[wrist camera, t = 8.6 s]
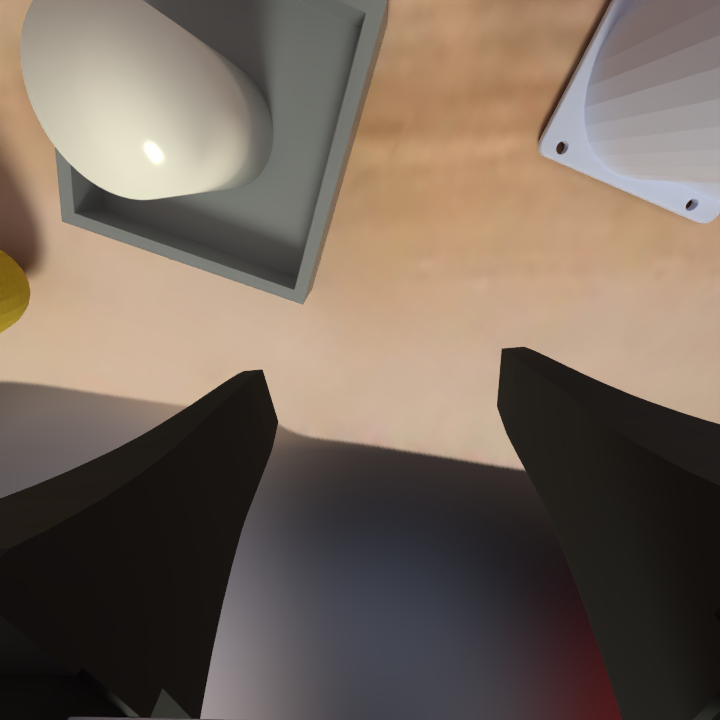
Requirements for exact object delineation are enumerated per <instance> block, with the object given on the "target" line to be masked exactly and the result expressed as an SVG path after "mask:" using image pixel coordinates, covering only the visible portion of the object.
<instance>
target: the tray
mask: <svg viewBox="0 0 720 720" xmlns="http://www.w3.org/2000/svg"><path fill="white" fill-rule="evenodd" d="M143 1H145V2H146V3H148V4H149V5H151V6H152V7H153V8H155V9H156V10H158V11H159V12H161V13H162V14H163V15H165V16H166V17H168V18H169V19H171V20H172V21H174V22H175V23H176V24H178V25H179V26H181V27H182V28H184V29H185V30H186V31H188V32H189V33H191V34H192V35H194V36H195V37H197V38H198V39H199V40H201V41H202V42H204V43H205V44H207V45H208V46H209V47H211V48H212V49H214V50H215V51H217V52H218V53H219V54H221V55H222V56H224V57H225V58H227V59H228V60H230V61H231V62H232V63H234V64H235V65H237V66H238V67H240V68H241V69H242V70H243V71H244V72H246V73H247V74H248V75H249V76H250V77H251V79H252V80H253V81H254V82H255V83H256V85H257V86H258V88H259V89H260V91H261V93H262V94H263V96H264V98H265V100H266V102H267V105H268V108H269V111H270V115H271V119H272V125H273V147H272V151H271V155H270V158H269V161H268V163H267V165H266V167H265V169H264V170H263V172H262V173H261V174H260V175H259V176H258V177H257V178H256V179H255V180H254V181H252V182H251V183H249V184H247V185H245V186H242V187H238V188H232V189H224V190H217V191H210V192H203V193H195V194H188V195H181V196H173V197H166V198H159V199H151V200H136V199H129V198H125V197H121V196H118V195H116V194H113V193H110V192H108V191H106V190H104V189H102V188H100V187H99V186H97V185H96V184H94V183H92V182H91V181H89V180H88V179H87V178H85V177H84V176H83V175H82V174H80V173H79V172H78V171H77V170H76V169H75V168H74V167H73V166H72V165H71V164H70V163H69V162H68V161H67V160H66V159H65V158H64V157H63V156H62V155H61V153H60V152H59V151H58V150H57V148H56V147H55V152H56V162H57V173H58V183H59V194H60V204H61V215H62V222H65V223H68V224H71V225H74V226H77V227H80V228H83V229H85V230H88V231H91V232H94V233H97V234H100V235H103V236H106V237H109V238H112V239H114V240H117V241H120V242H123V243H126V244H129V245H132V246H135V247H138V248H141V249H143V250H146V251H149V252H152V253H155V254H158V255H161V256H164V257H167V258H169V259H172V260H175V261H178V262H181V263H184V264H187V265H190V266H193V267H196V268H198V269H201V270H204V271H207V272H210V273H213V274H216V275H219V276H222V277H225V278H227V279H230V280H233V281H236V282H239V283H242V284H245V285H248V286H251V287H254V288H256V289H259V290H262V291H265V292H268V293H271V294H274V295H277V296H280V297H283V298H285V299H288V300H291V301H294V302H297V303H300V304H304V302H305V300H306V298H307V297H308V295H309V293H310V292H311V290H312V287H313V283H314V280H315V276H316V273H317V269H318V266H319V262H320V259H321V255H322V252H323V248H324V245H325V241H326V237H327V234H328V230H329V227H330V223H331V220H332V216H333V213H334V209H335V206H336V202H337V199H338V195H339V192H340V188H341V185H342V181H343V178H344V174H345V171H346V167H347V164H348V160H349V156H350V153H351V149H352V146H353V142H354V139H355V135H356V132H357V128H358V125H359V121H360V118H361V114H362V111H363V107H364V104H365V100H366V97H367V93H368V90H369V86H370V83H371V79H372V76H373V72H374V68H375V65H376V61H377V58H378V54H379V51H380V47H381V44H382V40H383V37H384V33H385V30H386V26H387V8H388V0H143Z"/></svg>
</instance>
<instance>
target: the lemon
mask: <svg viewBox="0 0 720 720" xmlns="http://www.w3.org/2000/svg"><path fill="white" fill-rule="evenodd" d="M29 298H30V288H29V282H28V280H27V277H26V275H25V273H24V272H23V270H22V269H21V267H20V266H19V265H18V264H17V263H16V262H15V261H14V259H12V258H11V257H10V256H9V255H7V254H6V253H5V252H3V251H2V250H0V333H1V332H3V331H4V330H6V329H7V328H8V327H10V326H11V325H13V324H14V323H15V322H16V321H18V320H19V319H20V317H21V316H22V315H23V313H24V312H25V310H26V308H27V306H28V304H29Z"/></svg>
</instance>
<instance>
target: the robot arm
mask: <svg viewBox="0 0 720 720" xmlns="http://www.w3.org/2000/svg"><path fill="white" fill-rule="evenodd" d="M559 142H563V143H564V146H565V147H564V150H563V152H562V153H561V154H558V153H557V152H556V147H557V145H558V144H559ZM538 151H539V153H540V154H541V155H542V156H544V157H546V158H549V159H551V160H553V161H555V162H558V163H560V164H562V165H565V166H567V167H569V168H572V169H574V170H576V171H579V172H581V173H583V174H586V175H588V176H590V177H592V178H595V179H597V180H599V181H602V182H604V183H606V184H609V185H611V186H613V187H616V188H618V189H620V190H623V191H625V192H627V193H629V194H632V195H634V196H636V197H639V198H641V199H643V200H646V201H648V202H650V203H653V204H655V205H657V206H660V207H662V208H664V209H667V210H669V211H671V212H673V213H676V214H678V215H680V216H683V217H685V218H687V219H690V220H692V221H694V222H698V223H708V222H710V221H712V220H714V219H715V218H716V217H717V216H718V215H719V214H720V0H612V1H611V3H610V5H609V6H608V8H607V10H606V12H605V14H604V16H603V18H602V20H601V22H600V24H599V26H598V28H597V30H596V32H595V33H594V35H593V37H592V39H591V41H590V43H589V45H588V47H587V49H586V51H585V53H584V55H583V57H582V59H581V61H580V62H579V64H578V66H577V68H576V70H575V72H574V74H573V76H572V78H571V80H570V82H569V84H568V86H567V88H566V89H565V91H564V93H563V95H562V97H561V99H560V101H559V103H558V105H557V107H556V109H555V111H554V113H553V115H552V117H551V118H550V120H549V122H548V124H547V126H546V128H545V130H544V132H543V134H542V136H541V138H540V140H539V143H538ZM690 200H692V204H691V206H690V207H689V208H687V209H686V204H687V203H688V202H689V201H690ZM497 407H498V410H499V413H500V416H501V419H502V422H503V425H504V428H505V430H506V433H507V435H508V437H509V439H510V441H511V443H512V445H513V447H514V449H515V451H516V453H517V455H518V457H519V459H520V460H521V462H522V464H523V466H524V468H525V470H526V472H527V474H528V475H529V477H530V479H531V481H532V483H533V485H534V487H535V489H536V491H537V492H538V494H539V496H540V498H541V500H542V502H543V504H544V506H545V508H546V510H547V512H548V514H549V517H550V519H551V521H552V524H553V526H554V528H555V531H556V533H557V536H558V538H559V541H560V543H561V546H562V548H563V551H564V553H565V556H566V558H567V561H568V564H569V566H570V569H571V572H572V574H573V577H574V580H575V582H576V585H577V587H578V590H579V593H580V595H581V598H582V601H583V604H584V607H585V609H586V612H587V615H588V618H589V621H590V624H591V626H592V629H593V632H594V635H595V637H596V640H597V643H598V646H599V649H600V652H601V655H602V658H603V661H604V664H605V667H606V670H607V673H608V676H609V679H610V682H611V685H612V688H613V691H614V695H615V697H616V701H617V704H618V707H619V710H620V713H621V715H622V719H623V720H720V424H717V423H713V422H710V421H706V420H703V419H700V418H697V417H693V416H690V415H687V414H684V413H681V412H678V411H675V410H672V409H669V408H666V407H663V406H661V405H658V404H655V403H652V402H649V401H646V400H644V399H641V398H638V397H636V396H633V395H631V394H628V393H626V392H623V391H621V390H619V389H616V388H614V387H611V386H609V385H607V384H604V383H602V382H600V381H597V380H595V379H593V378H591V377H589V376H586V375H584V374H582V373H580V372H578V371H576V370H574V369H572V368H569V367H567V366H565V365H563V364H561V363H559V362H557V361H555V360H553V359H551V358H549V357H547V356H545V355H542V354H540V353H538V352H536V351H534V350H531V349H529V348H526V347H516V348H505V349H502V354H501V365H500V377H499V389H498V401H497ZM277 425H278V419H277V416H276V413H275V409H274V406H273V403H272V400H271V396H270V393H269V390H268V386H267V383H266V380H265V376H264V373H263V370H252V371H243V372H241V373H239V374H237V375H236V376H234V377H232V378H231V379H229V380H228V381H226V382H224V383H223V384H221V385H220V386H218V387H217V388H215V389H214V390H212V391H211V392H210V393H208V394H207V395H205V396H204V397H202V398H201V399H199V400H198V401H196V402H195V403H193V404H192V405H190V406H189V407H187V408H186V409H184V410H182V411H181V412H179V413H178V414H176V415H175V416H173V417H171V418H170V419H168V420H166V421H165V422H163V423H162V424H160V425H159V426H157V427H155V428H153V429H152V430H150V431H148V432H147V433H145V434H143V435H141V436H140V437H138V438H136V439H134V440H132V441H130V442H129V443H126V444H124V445H123V446H121V447H119V448H117V449H115V450H113V451H111V452H109V453H107V454H105V455H102V456H100V457H98V458H96V459H94V460H92V461H89V462H88V463H85V464H83V465H81V466H79V467H76V468H74V469H72V470H70V471H68V472H65V473H63V474H61V475H59V476H56V477H54V478H51V479H49V480H46V481H44V482H42V483H39V484H37V485H34V486H32V487H29V488H27V489H24V490H22V491H19V492H16V493H14V494H11V495H8V496H6V497H3V498H0V720H217V719H200V716H201V709H202V704H203V698H204V693H205V687H206V683H207V676H208V672H209V667H210V661H211V656H212V651H213V646H214V641H215V637H216V632H217V627H218V622H219V618H220V614H221V609H222V604H223V600H224V596H225V592H226V587H227V584H228V580H229V576H230V572H231V567H232V563H233V560H234V556H235V553H236V549H237V545H238V541H239V538H240V534H241V531H242V528H243V525H244V522H245V519H246V516H247V513H248V511H249V508H250V505H251V503H252V500H253V498H254V495H255V493H256V490H257V488H258V485H259V482H260V479H261V477H262V475H263V472H264V469H265V467H266V464H267V461H268V459H269V456H270V453H271V451H272V447H273V443H274V439H275V434H276V429H277ZM218 720H221V719H218Z"/></svg>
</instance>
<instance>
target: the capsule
mask: <svg viewBox="0 0 720 720" xmlns="http://www.w3.org/2000/svg"><path fill="white" fill-rule="evenodd" d="M20 57H21V66H22V73H23V78H24V82H25V87H26V90H27V93H28V96H29V99H30V102H31V104H32V107H33V109H34V112H35V114H36V116H37V118H38V120H39V122H40V124H41V126H42V128H43V129H44V131H45V132H46V134H47V136H48V137H49V139H50V140H51V142H52V143H53V144H54V146H55V147H56V148H57V150H58V151H59V152H60V153H61V155H62V156H63V157H64V158H65V159H66V160H67V161H68V162H69V163H70V164H71V165H72V166H73V167H74V168H75V169H76V170H77V171H78V172H79V173H80V174H82V175H83V176H84V177H85V178H87V179H88V180H89V181H91V182H92V183H94V184H96V185H97V186H99V187H100V188H102V189H104V190H106V191H108V192H110V193H113V194H116V195H118V196H121V197H125V198H129V199H136V200H151V199H159V198H166V197H173V196H181V195H188V194H195V193H203V192H210V191H217V190H224V189H232V188H238V187H242V186H245V185H247V184H249V183H251V182H252V181H254V180H255V179H256V178H257V177H258V176H259V175H260V174H261V173H262V172H263V170H264V169H265V167H266V165H267V163H268V161H269V158H270V155H271V151H272V147H273V125H272V119H271V115H270V111H269V108H268V105H267V102H266V100H265V98H264V96H263V94H262V93H261V91H260V89H259V88H258V86H257V85H256V83H255V82H254V81H253V80H252V79H251V77H250V76H249V75H248V74H247V73H246V72H244V71H243V70H242V69H241V68H240V67H238V66H237V65H235V64H234V63H232V62H231V61H230V60H228V59H227V58H225V57H224V56H222V55H221V54H219V53H218V52H217V51H215V50H214V49H212V48H211V47H209V46H208V45H207V44H205V43H204V42H202V41H201V40H199V39H198V38H197V37H195V36H194V35H192V34H191V33H189V32H188V31H186V30H185V29H184V28H182V27H181V26H179V25H178V24H176V23H175V22H174V21H172V20H171V19H169V18H168V17H166V16H165V15H163V14H162V13H161V12H159V11H158V10H156V9H155V8H153V7H152V6H151V5H149V4H148V3H146V2H145V1H143V0H33V2H32V3H31V5H30V7H29V9H28V11H27V14H26V16H25V20H24V23H23V27H22V34H21V41H20Z"/></svg>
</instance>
